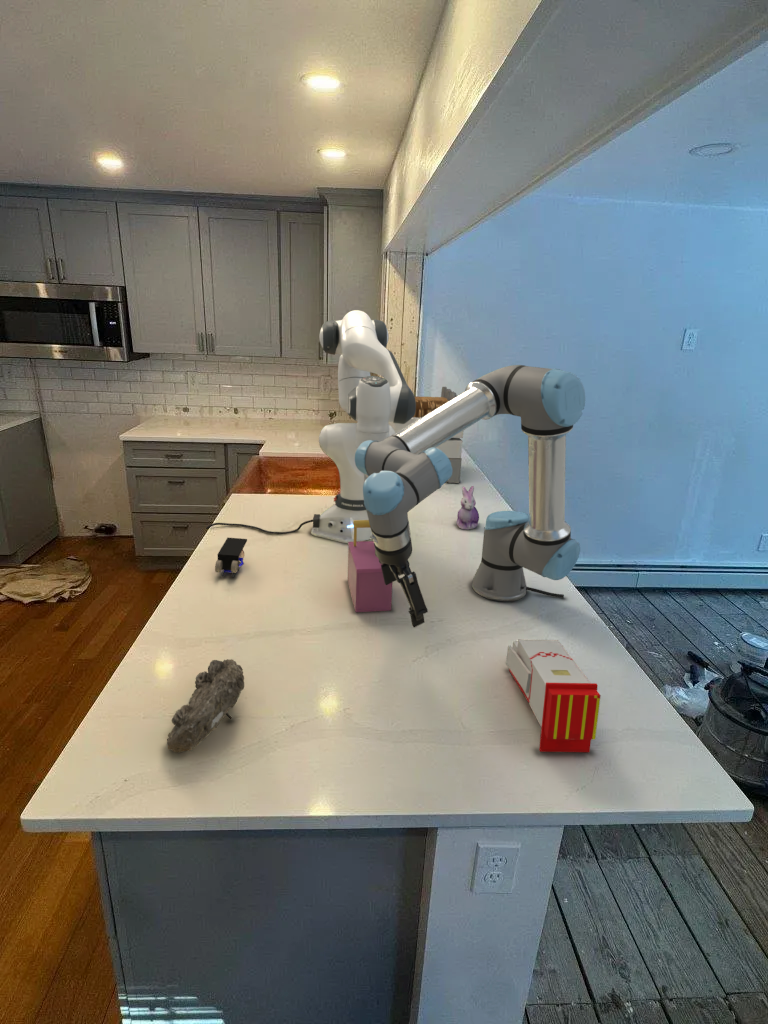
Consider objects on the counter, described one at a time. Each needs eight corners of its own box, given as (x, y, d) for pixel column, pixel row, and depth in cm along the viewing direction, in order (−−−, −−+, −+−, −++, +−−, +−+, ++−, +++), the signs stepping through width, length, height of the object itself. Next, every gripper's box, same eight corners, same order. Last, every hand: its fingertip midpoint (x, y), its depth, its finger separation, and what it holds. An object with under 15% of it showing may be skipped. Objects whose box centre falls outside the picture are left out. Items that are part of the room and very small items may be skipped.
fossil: (192, 660, 117) (244, 628, 112) (224, 691, 120) (276, 661, 115) (142, 746, 98) (202, 712, 93) (182, 779, 101) (242, 748, 96)
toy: (554, 622, 128) (610, 691, 98) (548, 677, 130) (601, 759, 101) (501, 621, 127) (541, 690, 98) (496, 676, 130) (534, 758, 101)
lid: (348, 545, 160) (348, 516, 157) (381, 544, 162) (382, 515, 159) (356, 573, 144) (357, 541, 141) (393, 571, 145) (394, 540, 142)
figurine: (464, 532, 204) (468, 492, 199) (449, 522, 212) (452, 484, 207) (486, 528, 208) (490, 489, 203) (469, 519, 216) (473, 481, 211)
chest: (347, 581, 164) (348, 545, 160) (379, 580, 165) (381, 544, 161) (355, 612, 147) (356, 573, 144) (391, 610, 149) (393, 571, 145)
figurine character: (238, 584, 162) (249, 557, 175) (236, 562, 158) (247, 536, 172) (215, 584, 161) (227, 556, 175) (212, 561, 158) (225, 535, 171)
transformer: (382, 463, 289) (386, 382, 275) (445, 464, 293) (451, 384, 279) (390, 482, 257) (394, 392, 243) (460, 483, 261) (468, 394, 247)
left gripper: (391, 450, 139) (389, 503, 144) (377, 432, 158) (375, 480, 163) (366, 450, 138) (364, 503, 143) (355, 432, 157) (353, 480, 162)
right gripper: (350, 509, 121) (366, 572, 135) (404, 589, 104) (415, 651, 119) (381, 496, 122) (393, 559, 137) (439, 572, 105) (446, 635, 120)
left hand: (370, 491), depth 153 cm, fingers open, 8 cm apart
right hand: (403, 602), depth 128 cm, fingers open, 13 cm apart
